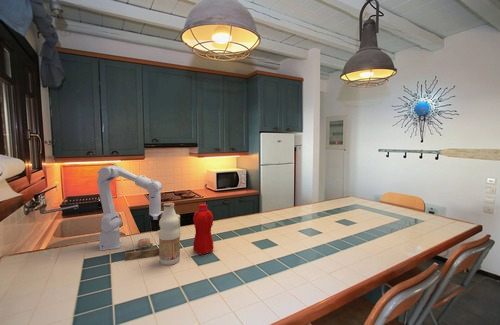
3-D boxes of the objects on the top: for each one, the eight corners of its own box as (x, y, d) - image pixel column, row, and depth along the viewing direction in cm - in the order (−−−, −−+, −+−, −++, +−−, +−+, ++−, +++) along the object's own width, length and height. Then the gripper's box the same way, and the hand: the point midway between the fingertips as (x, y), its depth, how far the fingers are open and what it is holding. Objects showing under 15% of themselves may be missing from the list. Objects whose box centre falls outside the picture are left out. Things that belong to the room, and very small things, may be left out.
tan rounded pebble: (137, 248, 136) (137, 243, 136) (138, 244, 142) (138, 239, 142) (150, 247, 139) (149, 241, 138) (150, 242, 144) (149, 237, 144)
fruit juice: (160, 267, 116) (159, 206, 114) (158, 258, 124) (157, 202, 122) (181, 263, 120) (181, 204, 118) (178, 255, 129) (177, 200, 126)
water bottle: (218, 249, 135) (218, 203, 133) (201, 256, 127) (201, 207, 125) (207, 245, 142) (207, 200, 140) (190, 251, 134) (190, 204, 132)
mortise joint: (125, 260, 122) (125, 253, 122) (126, 253, 130) (126, 246, 130) (160, 255, 128) (160, 248, 128) (160, 248, 136) (159, 242, 136)
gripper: (163, 206, 130) (164, 232, 131) (162, 200, 143) (162, 224, 144) (148, 207, 127) (149, 234, 128) (148, 201, 141) (149, 225, 142)
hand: (155, 229), depth 136 cm, fingers open, 5 cm apart
